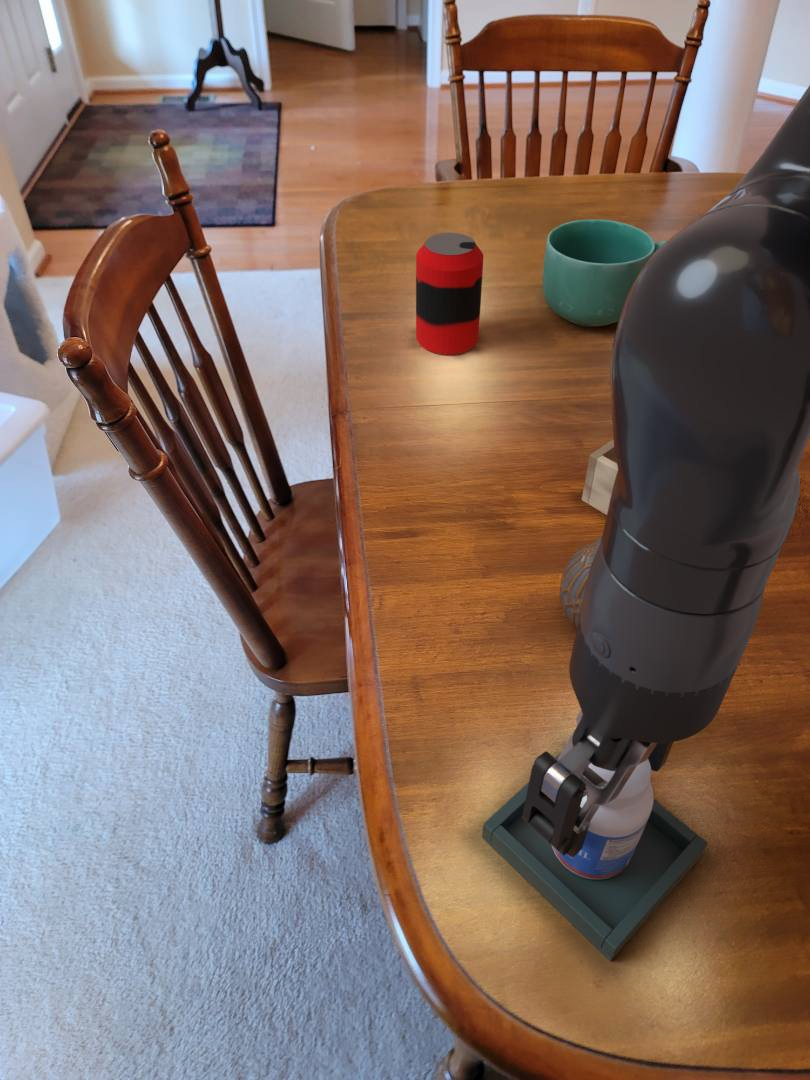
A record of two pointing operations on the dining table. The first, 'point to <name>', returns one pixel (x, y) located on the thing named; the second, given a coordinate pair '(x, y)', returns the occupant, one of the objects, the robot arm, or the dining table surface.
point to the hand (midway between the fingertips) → (605, 798)
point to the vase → (576, 580)
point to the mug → (593, 269)
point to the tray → (604, 904)
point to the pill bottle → (614, 827)
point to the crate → (600, 477)
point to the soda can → (448, 293)
